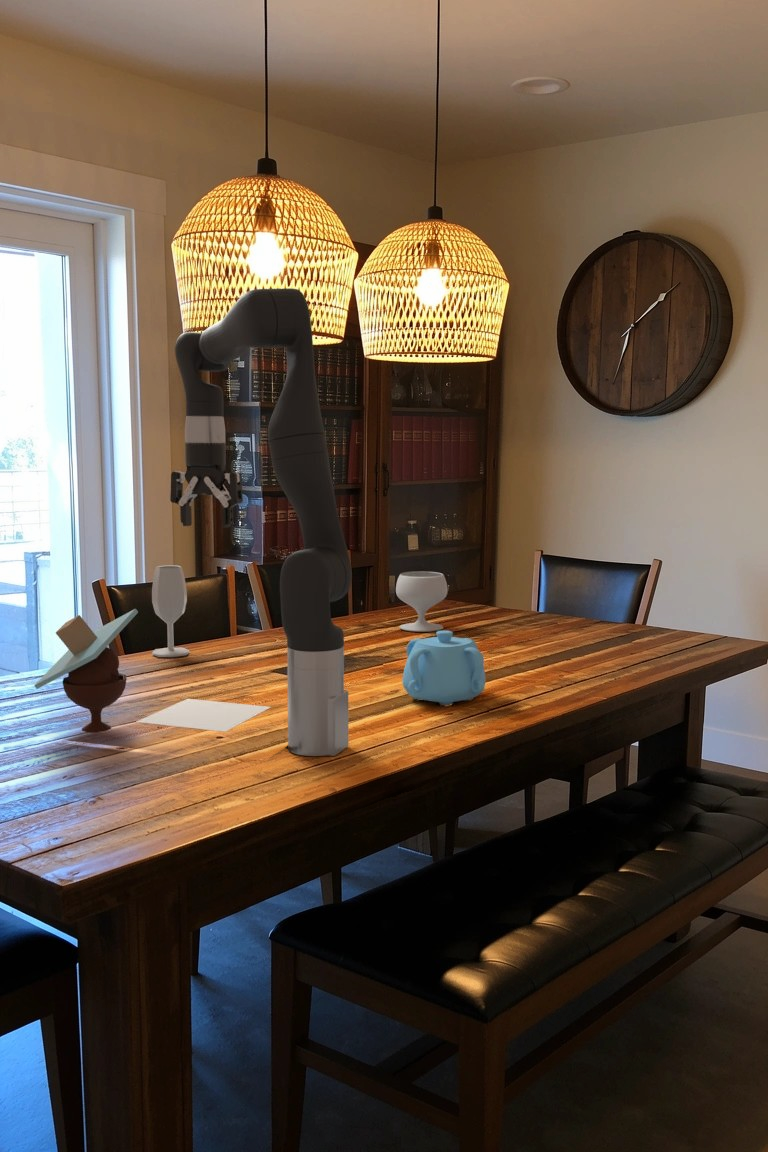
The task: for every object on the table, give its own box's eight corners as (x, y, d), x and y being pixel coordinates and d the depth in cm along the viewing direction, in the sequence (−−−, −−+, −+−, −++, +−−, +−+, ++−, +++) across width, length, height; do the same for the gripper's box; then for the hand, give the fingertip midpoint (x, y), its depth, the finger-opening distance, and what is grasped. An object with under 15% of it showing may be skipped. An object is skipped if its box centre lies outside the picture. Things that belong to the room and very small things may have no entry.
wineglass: (186, 650, 253) (184, 564, 250) (192, 657, 245) (190, 568, 242) (150, 652, 250) (147, 565, 248) (154, 659, 242) (151, 569, 239)
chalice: (444, 624, 290) (444, 570, 288) (449, 633, 276) (450, 577, 274) (394, 624, 289) (394, 570, 287) (397, 633, 275) (397, 577, 273)
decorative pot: (485, 710, 197) (486, 640, 196) (400, 708, 199) (401, 638, 197) (484, 690, 213) (485, 625, 212) (406, 688, 215) (406, 623, 213)
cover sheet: (138, 612, 183) (118, 585, 181) (96, 658, 170) (73, 630, 168) (81, 642, 190) (61, 617, 188) (36, 689, 177) (15, 662, 175)
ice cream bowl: (102, 720, 190) (100, 638, 188) (141, 730, 183) (139, 646, 181) (51, 732, 181) (48, 647, 180) (89, 744, 174) (86, 656, 172)
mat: (271, 710, 197) (271, 706, 197) (225, 735, 180) (225, 731, 180) (187, 701, 203) (187, 698, 203) (135, 725, 186) (135, 721, 186)
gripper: (248, 441, 198) (249, 526, 200) (182, 440, 203) (184, 524, 205) (229, 441, 191) (230, 529, 193) (161, 440, 196) (163, 526, 198)
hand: (206, 526), depth 199 cm, fingers open, 8 cm apart
